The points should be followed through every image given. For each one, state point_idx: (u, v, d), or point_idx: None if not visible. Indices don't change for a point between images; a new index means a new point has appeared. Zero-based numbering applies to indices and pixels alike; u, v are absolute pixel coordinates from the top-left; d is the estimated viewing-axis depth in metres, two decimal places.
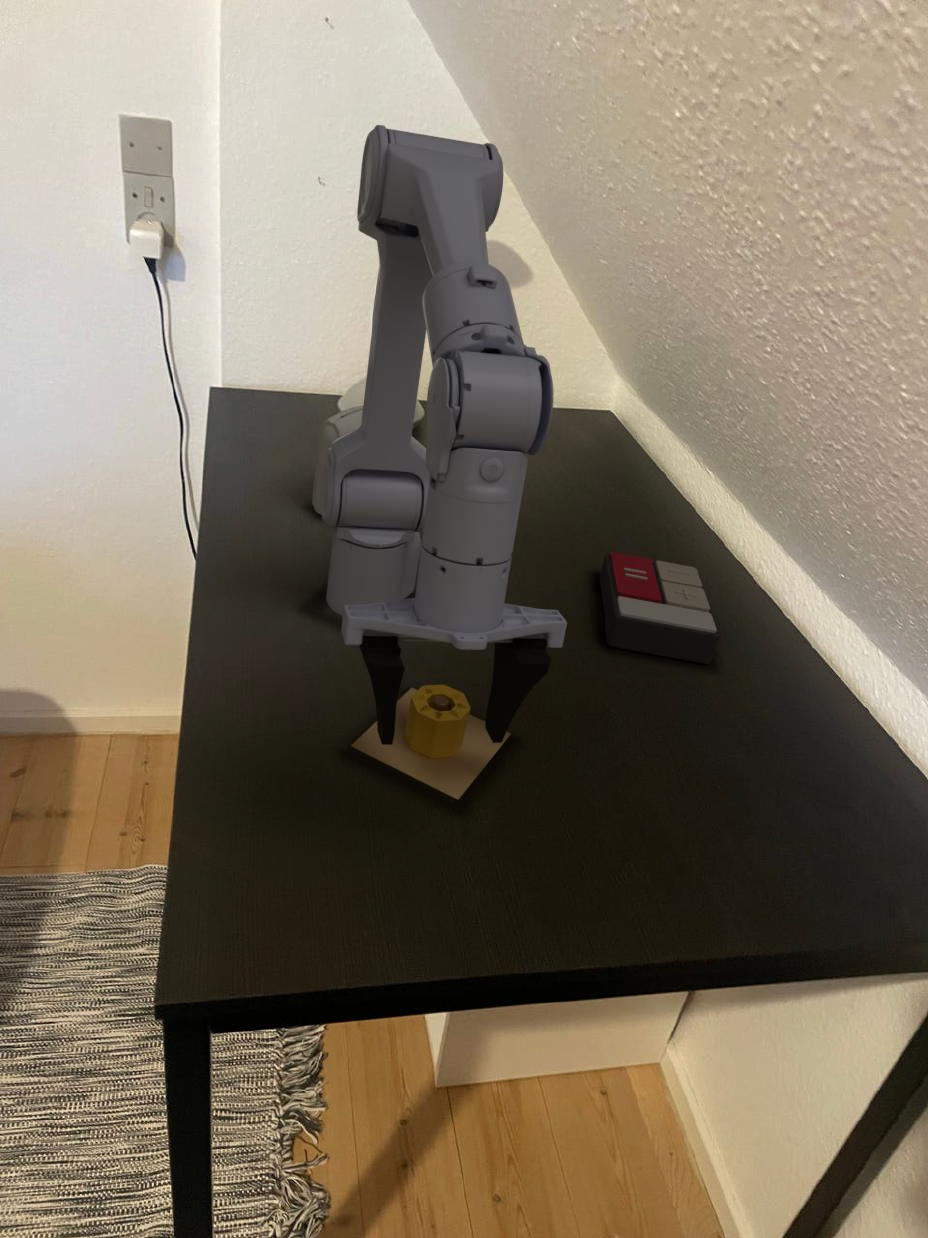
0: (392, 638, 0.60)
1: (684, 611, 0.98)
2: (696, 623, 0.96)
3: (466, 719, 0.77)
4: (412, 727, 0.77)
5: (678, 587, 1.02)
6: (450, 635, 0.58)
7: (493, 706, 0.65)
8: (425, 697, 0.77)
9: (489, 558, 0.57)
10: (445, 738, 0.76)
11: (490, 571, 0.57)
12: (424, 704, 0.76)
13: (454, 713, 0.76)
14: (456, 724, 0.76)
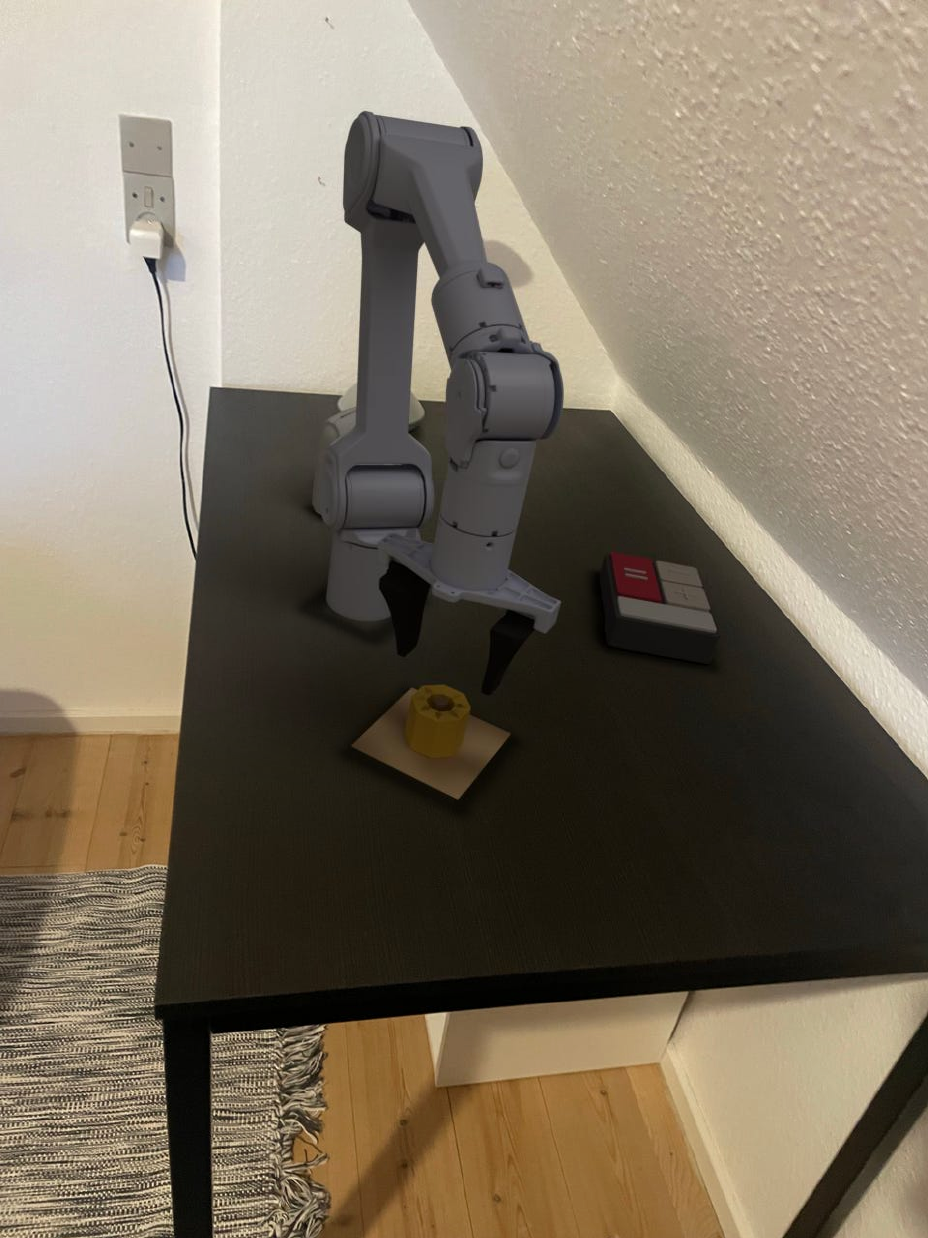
0: (412, 570, 0.72)
1: (684, 611, 0.98)
2: (696, 623, 0.96)
3: (466, 719, 0.77)
4: (412, 727, 0.77)
5: (678, 587, 1.02)
6: (435, 581, 0.68)
7: None
8: (425, 697, 0.77)
9: (503, 530, 0.66)
10: (445, 738, 0.76)
11: (471, 539, 0.66)
12: (424, 704, 0.76)
13: (454, 713, 0.76)
14: (456, 724, 0.76)
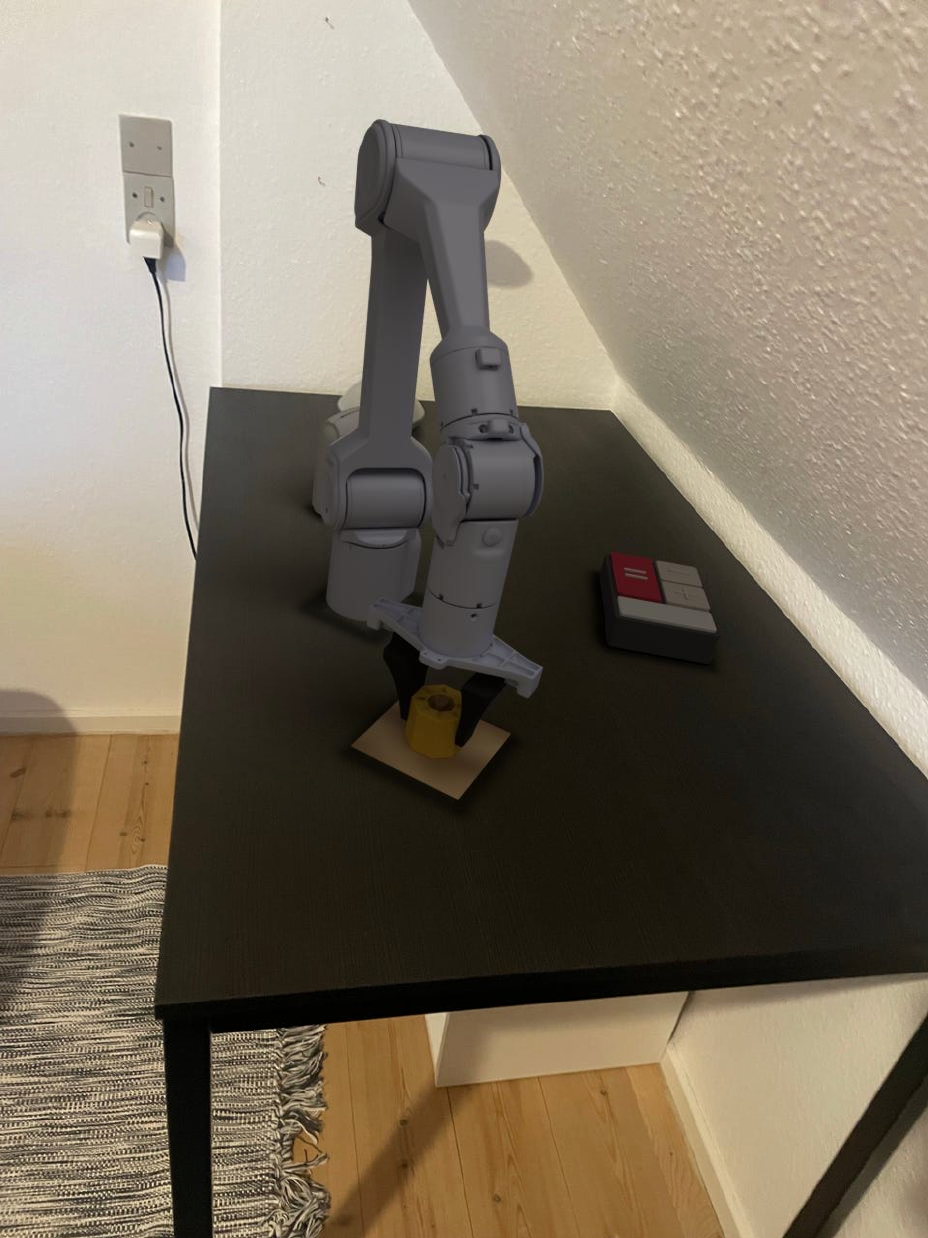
0: None
1: (684, 611, 0.98)
2: (696, 623, 0.96)
3: None
4: (412, 727, 0.77)
5: (678, 587, 1.02)
6: (423, 648, 0.71)
7: None
8: (425, 697, 0.77)
9: (487, 602, 0.69)
10: (445, 738, 0.76)
11: (456, 611, 0.69)
12: (424, 704, 0.76)
13: (454, 713, 0.76)
14: (456, 724, 0.76)
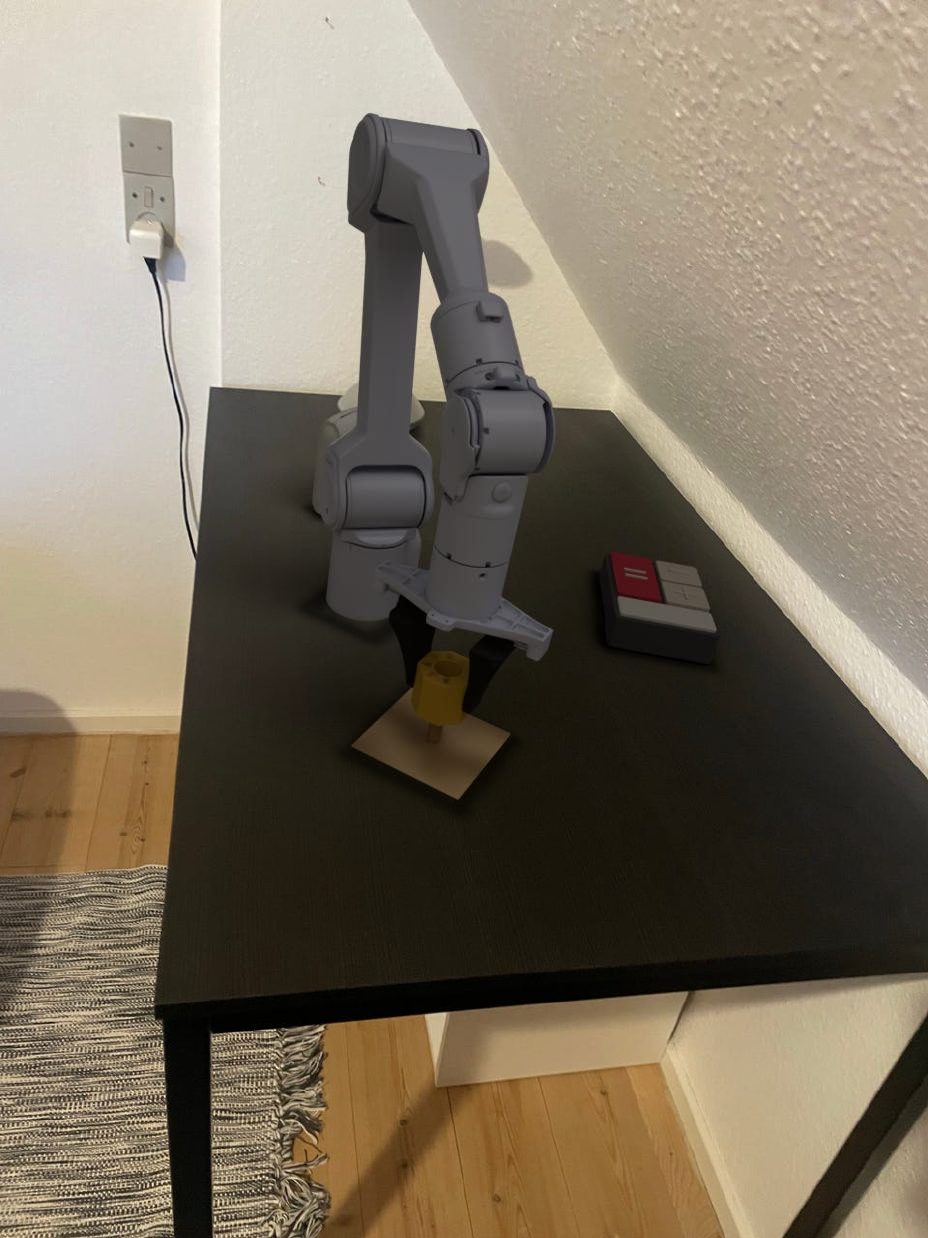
0: (407, 598, 0.73)
1: (684, 611, 0.98)
2: (696, 623, 0.96)
3: None
4: (419, 694, 0.75)
5: (678, 587, 1.02)
6: (430, 610, 0.70)
7: None
8: (432, 663, 0.75)
9: (496, 561, 0.67)
10: (453, 705, 0.74)
11: (464, 570, 0.67)
12: (431, 670, 0.74)
13: (462, 679, 0.74)
14: (464, 690, 0.74)
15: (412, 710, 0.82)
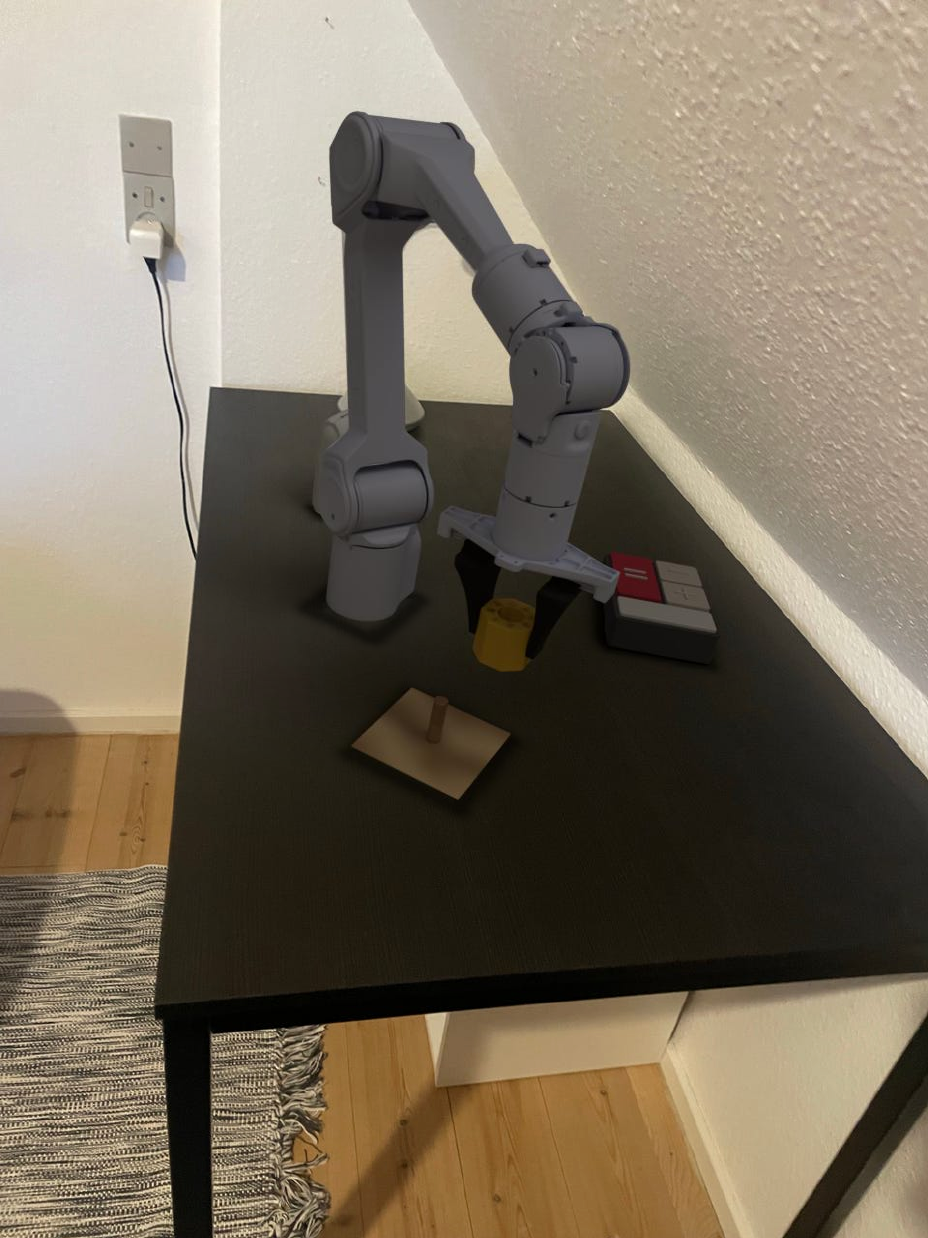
0: (472, 542, 0.74)
1: (684, 611, 0.98)
2: (696, 623, 0.96)
3: None
4: (482, 639, 0.75)
5: (678, 587, 1.02)
6: (498, 552, 0.70)
7: None
8: (495, 609, 0.76)
9: (572, 499, 0.68)
10: (516, 650, 0.75)
11: (535, 510, 0.67)
12: (495, 615, 0.75)
13: (525, 624, 0.74)
14: (528, 635, 0.74)
15: (412, 710, 0.82)
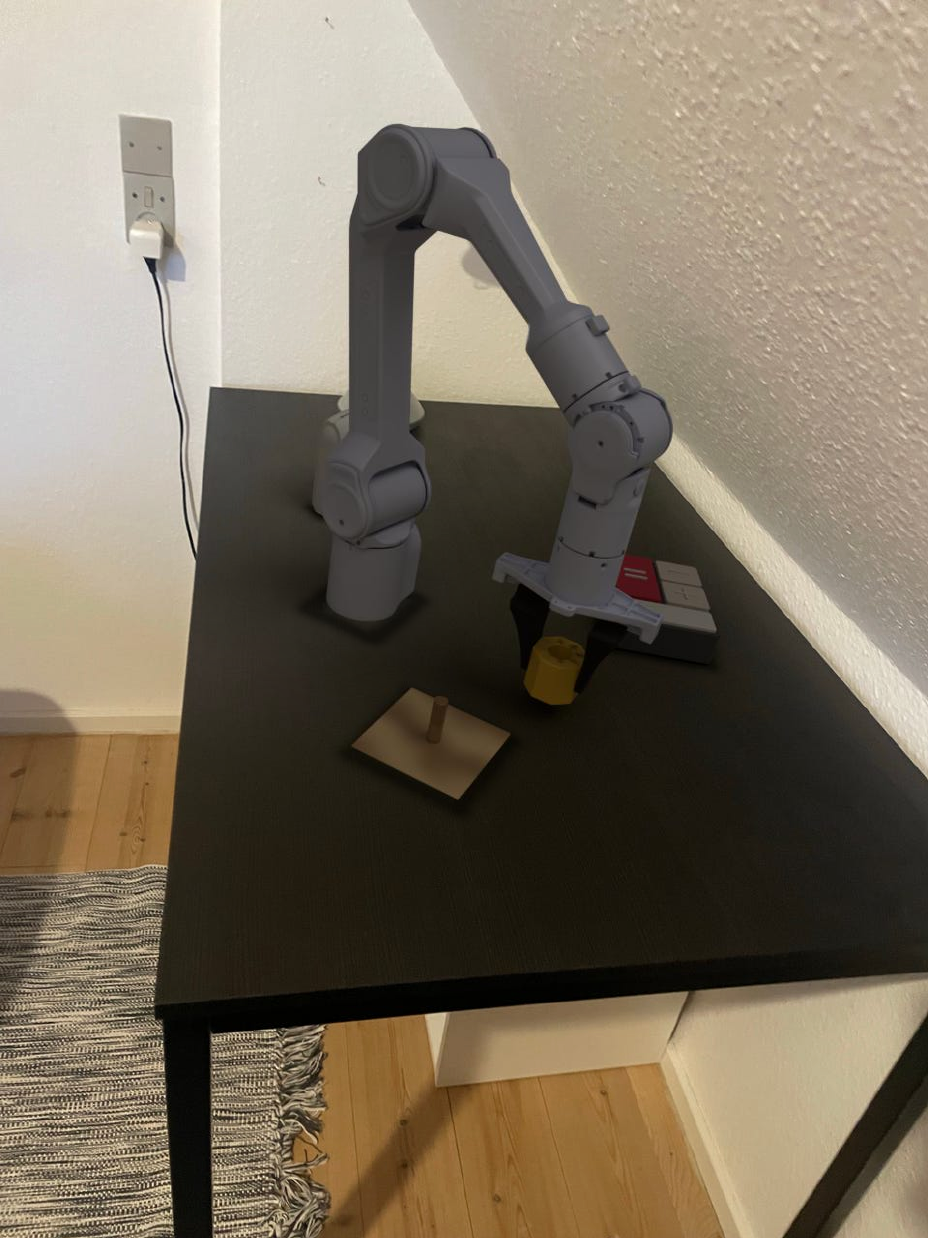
0: (525, 587, 0.80)
1: (683, 611, 0.98)
2: (696, 623, 0.96)
3: None
4: (534, 675, 0.81)
5: (678, 587, 1.02)
6: (552, 598, 0.76)
7: None
8: (545, 647, 0.82)
9: (626, 547, 0.75)
10: (566, 685, 0.81)
11: (588, 561, 0.73)
12: (546, 653, 0.81)
13: (574, 661, 0.81)
14: (577, 672, 0.80)
15: (412, 710, 0.82)
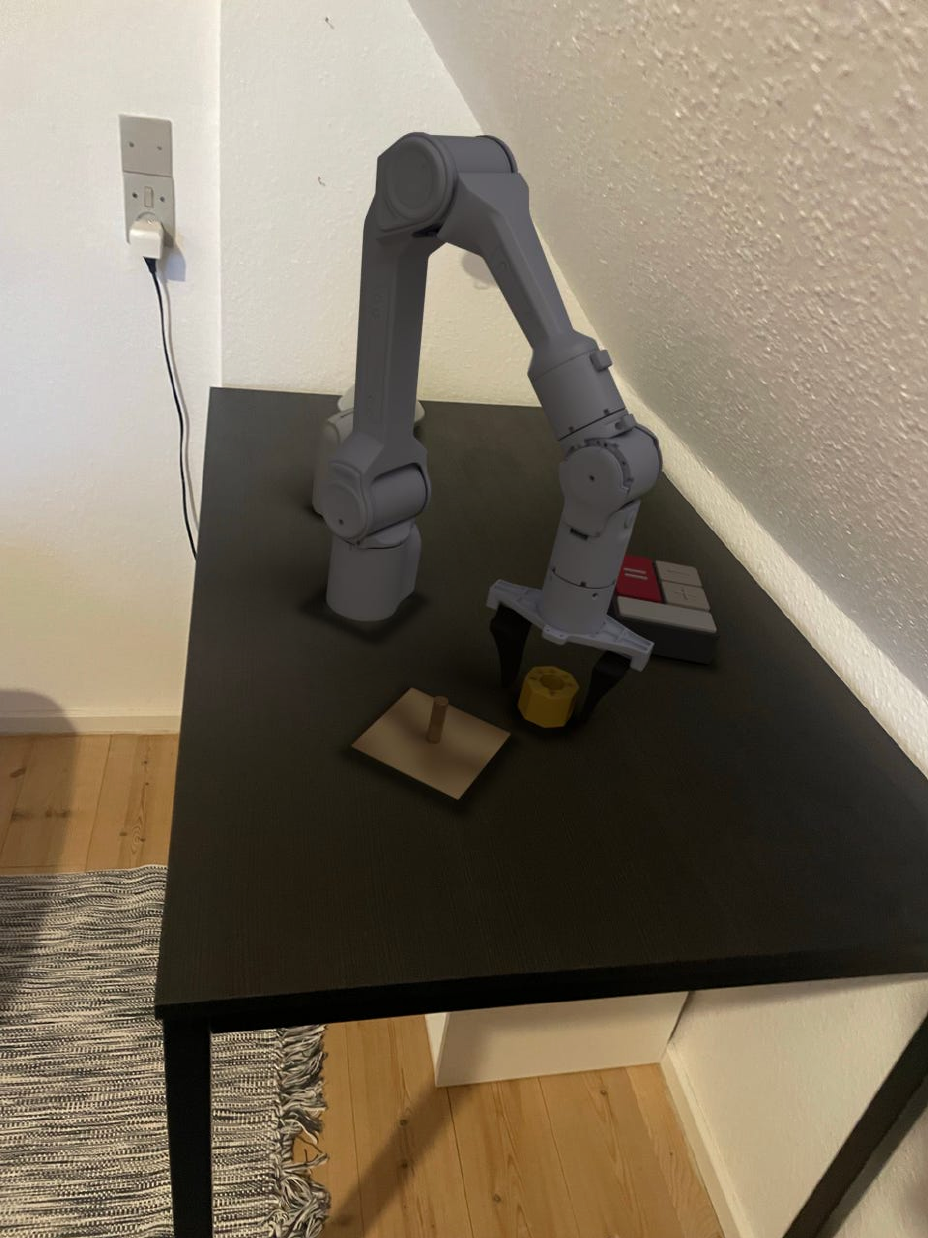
0: (519, 614, 0.81)
1: (683, 611, 0.98)
2: (696, 623, 0.96)
3: (575, 697, 0.84)
4: (526, 705, 0.83)
5: (678, 587, 1.02)
6: (544, 626, 0.78)
7: None
8: (537, 677, 0.84)
9: (617, 577, 0.76)
10: (557, 715, 0.83)
11: (579, 590, 0.75)
12: (538, 683, 0.83)
13: (566, 692, 0.82)
14: (568, 702, 0.82)
15: (412, 710, 0.82)
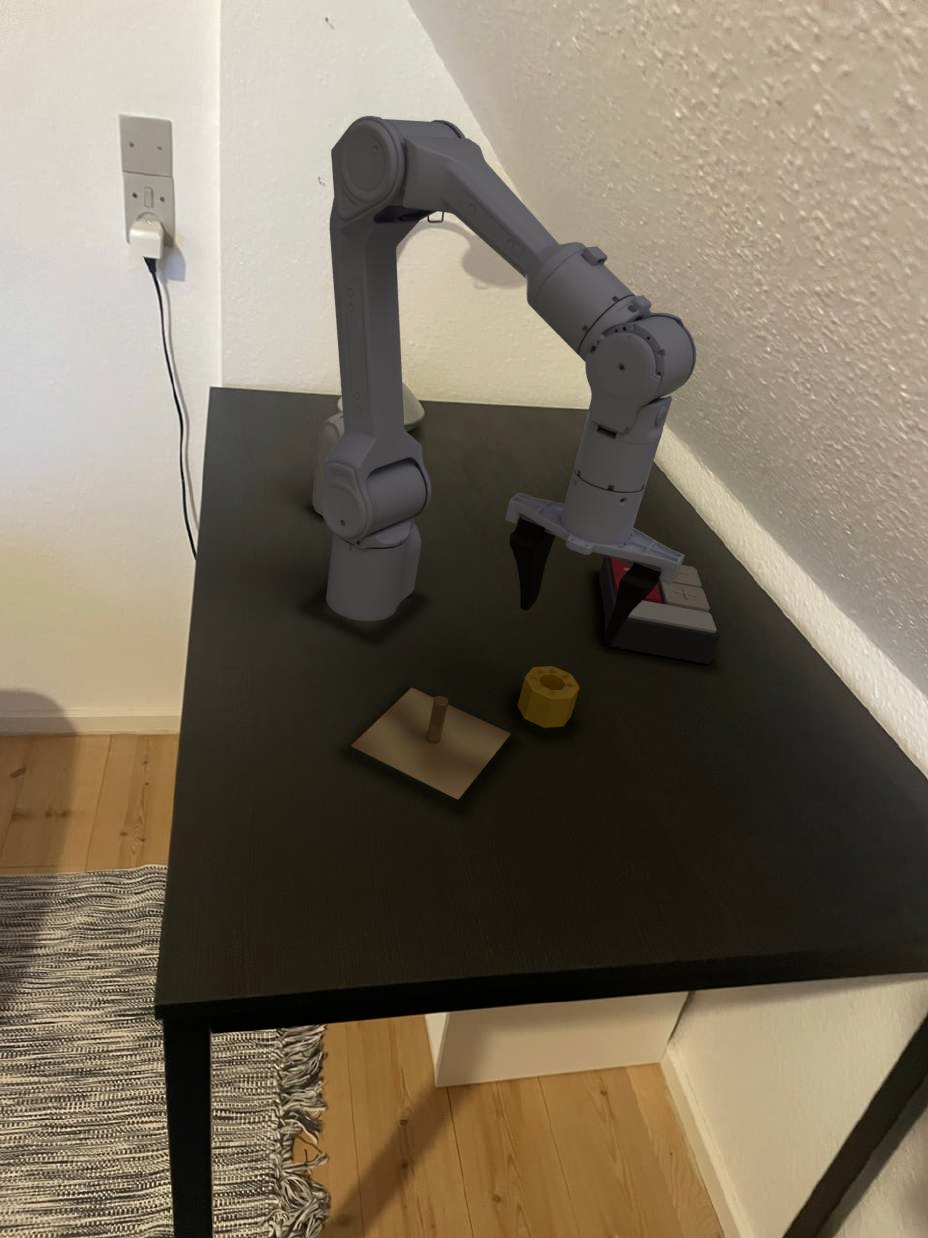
0: (540, 527, 0.77)
1: (683, 611, 0.98)
2: (696, 622, 0.96)
3: (575, 697, 0.84)
4: (526, 705, 0.83)
5: (678, 587, 1.02)
6: (568, 536, 0.73)
7: None
8: (537, 677, 0.84)
9: (646, 482, 0.72)
10: (557, 715, 0.83)
11: (606, 495, 0.70)
12: (538, 683, 0.83)
13: (566, 692, 0.82)
14: (568, 702, 0.82)
15: (412, 710, 0.82)
